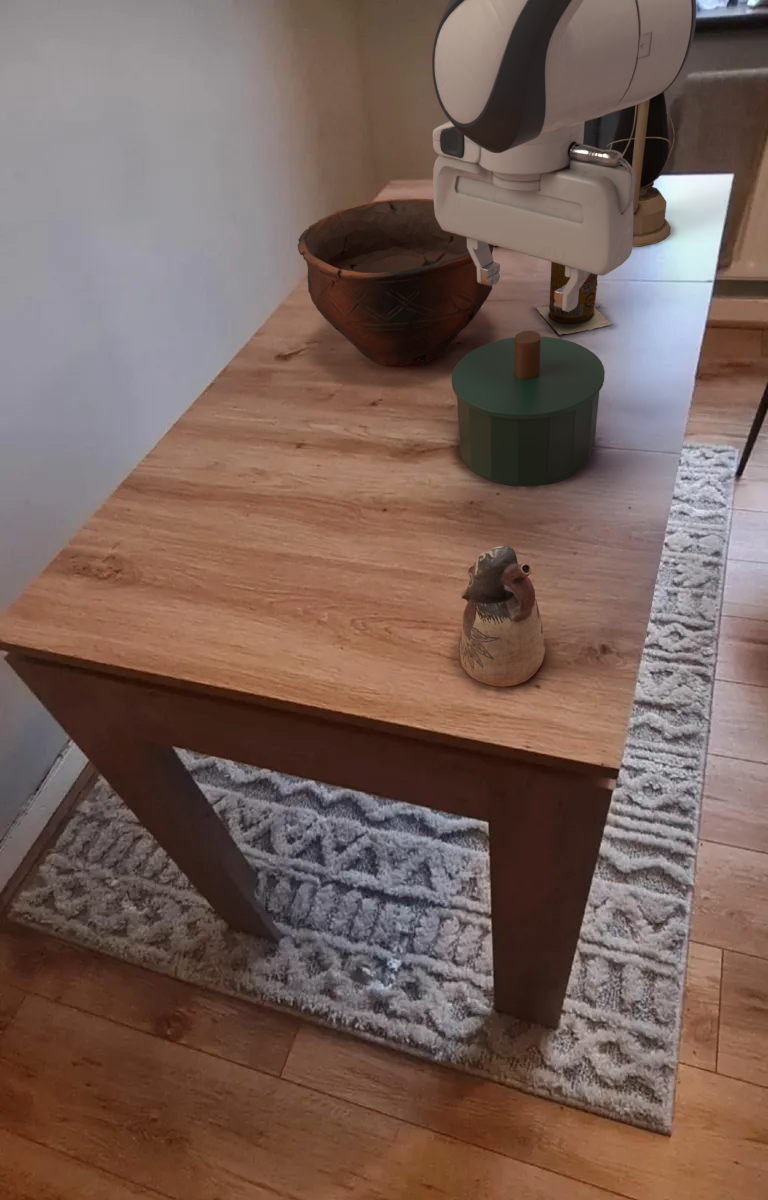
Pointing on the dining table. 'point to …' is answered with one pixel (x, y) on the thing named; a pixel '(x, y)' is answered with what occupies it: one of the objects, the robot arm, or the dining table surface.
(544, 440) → the pot
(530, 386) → the lid
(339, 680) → the dining table surface
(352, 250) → the bowl
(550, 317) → the condiment
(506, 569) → the figurine
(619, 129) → the lantern
